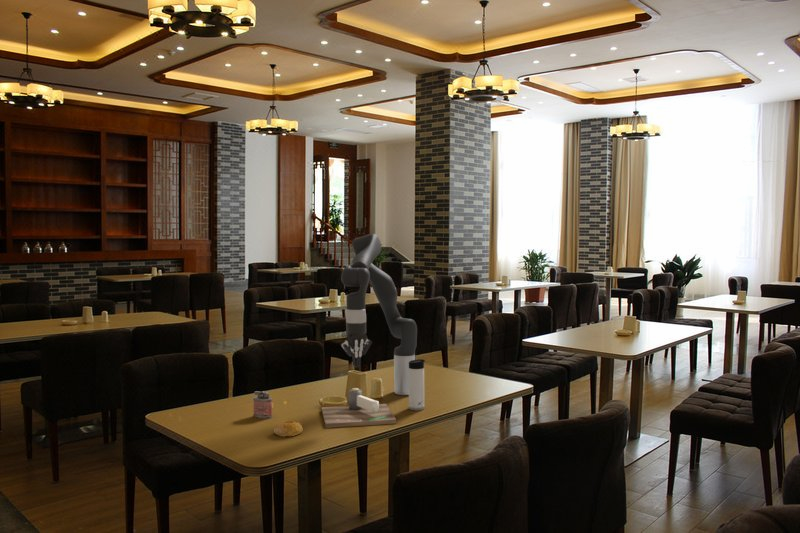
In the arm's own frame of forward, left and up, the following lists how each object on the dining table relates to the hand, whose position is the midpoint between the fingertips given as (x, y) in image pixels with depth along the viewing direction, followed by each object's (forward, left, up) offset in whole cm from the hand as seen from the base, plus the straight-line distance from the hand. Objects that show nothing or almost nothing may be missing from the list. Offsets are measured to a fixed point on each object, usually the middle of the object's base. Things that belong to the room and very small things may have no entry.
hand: (356, 366), depth 245 cm
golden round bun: (+9, -26, -21) cm, 34 cm away
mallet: (-7, +4, -19) cm, 21 cm away
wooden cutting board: (-6, +1, -21) cm, 22 cm away
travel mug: (-13, +26, -21) cm, 36 cm away
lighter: (-14, -35, -21) cm, 43 cm away
